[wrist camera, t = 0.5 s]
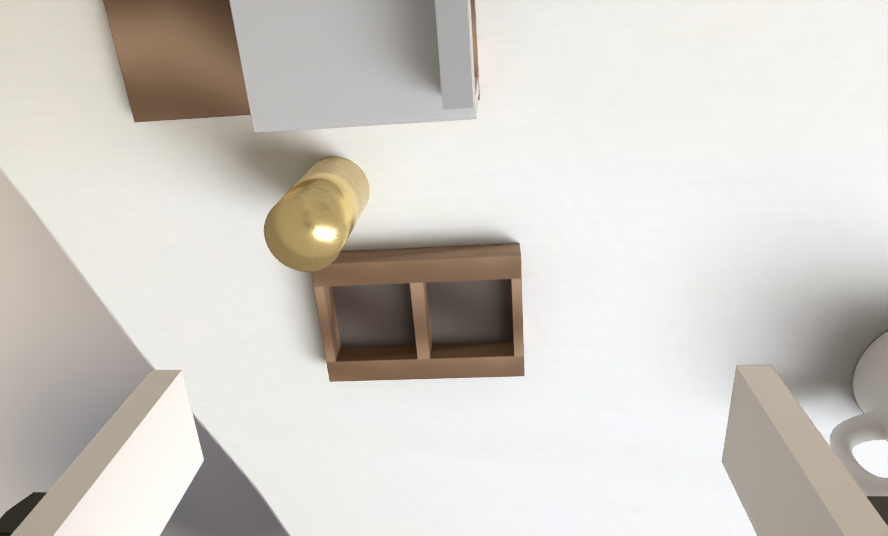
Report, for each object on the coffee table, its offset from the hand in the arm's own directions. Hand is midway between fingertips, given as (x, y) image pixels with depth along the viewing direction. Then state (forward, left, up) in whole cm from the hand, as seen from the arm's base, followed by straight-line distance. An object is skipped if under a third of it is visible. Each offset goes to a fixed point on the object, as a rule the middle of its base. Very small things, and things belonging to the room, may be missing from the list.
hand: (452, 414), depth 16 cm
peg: (+2, -8, -25) cm, 27 cm away
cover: (-10, -4, -24) cm, 26 cm away
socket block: (+10, -4, -25) cm, 27 cm away
